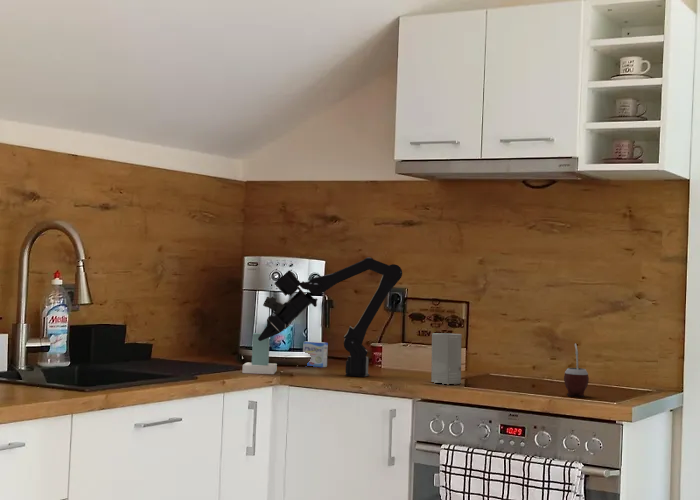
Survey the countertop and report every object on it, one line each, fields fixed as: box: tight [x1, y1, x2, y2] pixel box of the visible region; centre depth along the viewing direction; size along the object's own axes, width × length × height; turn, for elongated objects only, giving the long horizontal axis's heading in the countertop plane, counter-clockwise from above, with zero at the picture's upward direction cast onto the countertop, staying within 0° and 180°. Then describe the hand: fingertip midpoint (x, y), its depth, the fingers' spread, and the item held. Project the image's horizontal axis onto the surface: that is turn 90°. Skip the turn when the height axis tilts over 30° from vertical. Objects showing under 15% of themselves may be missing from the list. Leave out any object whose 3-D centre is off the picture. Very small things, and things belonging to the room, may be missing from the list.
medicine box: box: [302, 340, 329, 368], centre depth 347 cm, size 8×4×9 cm, turn 73°
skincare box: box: [431, 332, 463, 385], centre depth 306 cm, size 8×7×16 cm
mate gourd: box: [563, 343, 590, 399], centre depth 286 cm, size 8×8×15 cm
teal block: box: [251, 332, 271, 365], centre depth 320 cm, size 4×5×10 cm
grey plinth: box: [241, 362, 278, 375], centre depth 320 cm, size 10×10×2 cm
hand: (260, 339), depth 320 cm, fingers open, 9 cm apart
